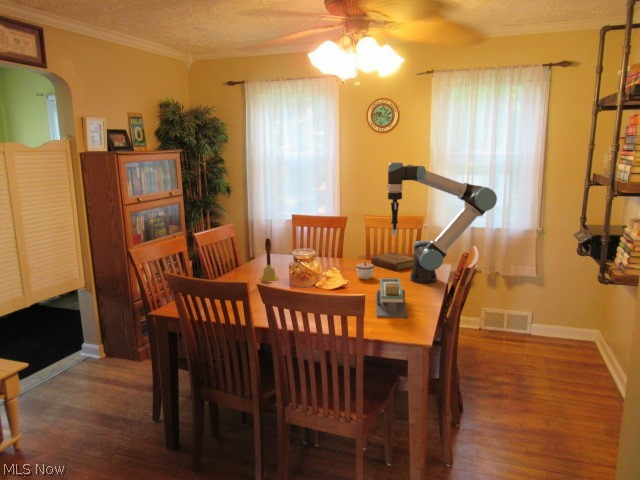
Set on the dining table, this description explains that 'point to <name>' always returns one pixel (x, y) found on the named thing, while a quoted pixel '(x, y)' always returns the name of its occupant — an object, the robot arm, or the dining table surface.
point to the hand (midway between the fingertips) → (394, 235)
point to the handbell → (268, 265)
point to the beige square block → (391, 289)
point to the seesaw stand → (390, 307)
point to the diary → (393, 261)
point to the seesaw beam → (390, 298)
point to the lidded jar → (365, 270)
